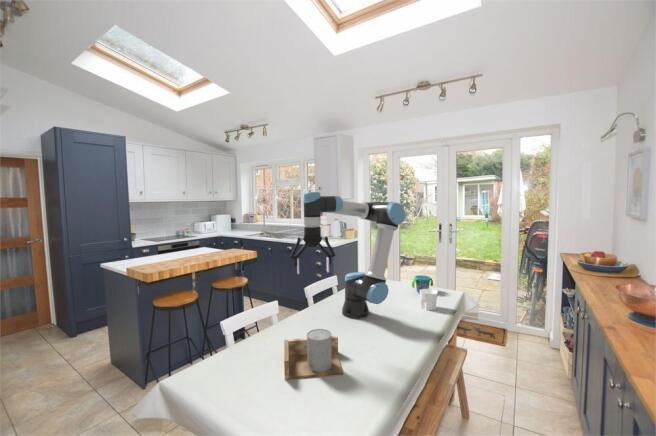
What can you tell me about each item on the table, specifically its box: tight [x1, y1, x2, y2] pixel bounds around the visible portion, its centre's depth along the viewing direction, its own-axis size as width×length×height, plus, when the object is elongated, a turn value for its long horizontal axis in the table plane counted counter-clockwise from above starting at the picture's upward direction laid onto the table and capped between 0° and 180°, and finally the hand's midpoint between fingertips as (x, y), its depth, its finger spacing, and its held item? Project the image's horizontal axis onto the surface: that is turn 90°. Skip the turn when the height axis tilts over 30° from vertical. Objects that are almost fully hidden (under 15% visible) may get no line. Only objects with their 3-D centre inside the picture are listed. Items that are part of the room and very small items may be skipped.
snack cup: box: [411, 274, 434, 293], centre depth 211 cm, size 16×10×10 cm
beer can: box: [306, 328, 332, 372], centre depth 120 cm, size 10×10×12 cm
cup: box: [419, 288, 438, 311], centre depth 181 cm, size 10×10×10 cm
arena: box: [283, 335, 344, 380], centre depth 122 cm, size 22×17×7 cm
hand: (313, 272), depth 140 cm, fingers open, 13 cm apart
